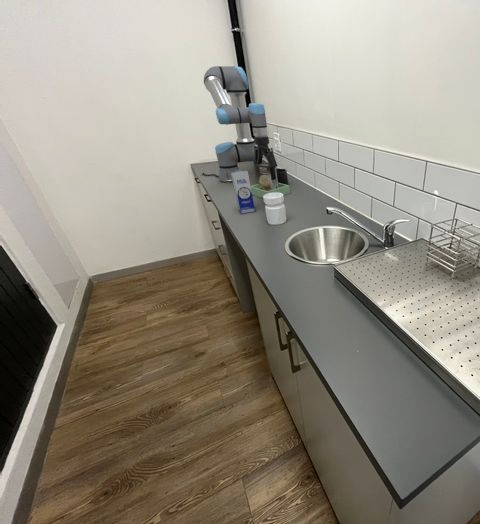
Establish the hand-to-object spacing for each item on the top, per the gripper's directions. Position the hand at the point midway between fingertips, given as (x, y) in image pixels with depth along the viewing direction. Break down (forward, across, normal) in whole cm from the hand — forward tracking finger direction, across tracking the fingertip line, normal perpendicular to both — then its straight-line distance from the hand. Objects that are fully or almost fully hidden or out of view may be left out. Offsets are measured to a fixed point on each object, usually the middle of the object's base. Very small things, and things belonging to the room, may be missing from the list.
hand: (267, 178), depth 167 cm
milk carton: (+9, +15, -25) cm, 31 cm away
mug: (+9, -11, +16) cm, 21 cm away
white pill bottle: (+9, +38, -24) cm, 46 cm away
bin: (+9, 0, 0) cm, 9 cm away
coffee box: (+9, 0, 0) cm, 9 cm away
